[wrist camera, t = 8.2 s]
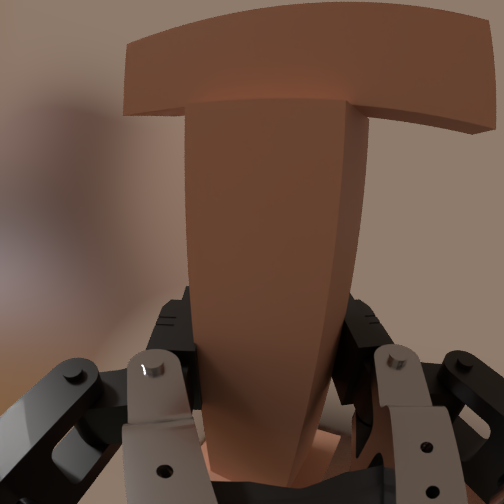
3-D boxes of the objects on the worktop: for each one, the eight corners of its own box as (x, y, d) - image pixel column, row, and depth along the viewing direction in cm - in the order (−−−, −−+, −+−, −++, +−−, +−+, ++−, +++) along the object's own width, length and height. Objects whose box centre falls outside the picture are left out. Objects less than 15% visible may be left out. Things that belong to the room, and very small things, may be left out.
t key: (354, 475, 12) (460, 67, 6) (318, 557, 8) (508, -17, 1) (215, 425, 15) (205, 62, 9) (159, 486, 11) (79, 37, 5)
